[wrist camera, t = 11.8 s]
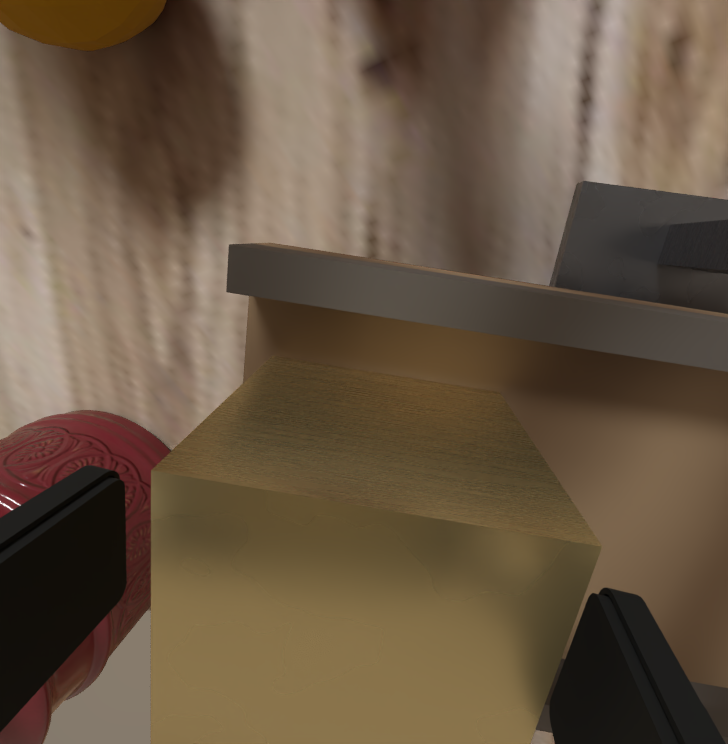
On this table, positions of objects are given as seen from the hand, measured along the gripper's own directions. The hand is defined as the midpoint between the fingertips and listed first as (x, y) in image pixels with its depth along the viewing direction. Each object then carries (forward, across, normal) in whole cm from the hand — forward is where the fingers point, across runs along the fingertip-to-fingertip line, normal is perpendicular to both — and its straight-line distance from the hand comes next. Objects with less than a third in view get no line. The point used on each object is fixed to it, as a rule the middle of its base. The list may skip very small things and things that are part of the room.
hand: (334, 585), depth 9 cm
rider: (+4, 0, 0) cm, 4 cm away
